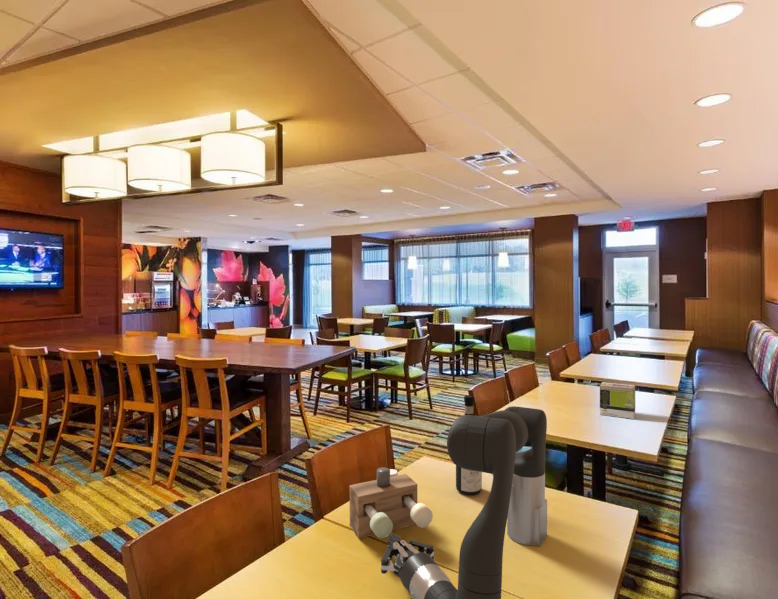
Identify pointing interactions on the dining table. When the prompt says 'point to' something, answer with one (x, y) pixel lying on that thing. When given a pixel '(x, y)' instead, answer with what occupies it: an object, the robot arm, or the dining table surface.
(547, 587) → the dining table surface
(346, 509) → the dining table surface
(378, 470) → the dark grey cylinder
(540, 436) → the robot arm
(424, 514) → the knob cream
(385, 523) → the knob sage
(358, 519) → the brown wooden block
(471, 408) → the wine bottle
